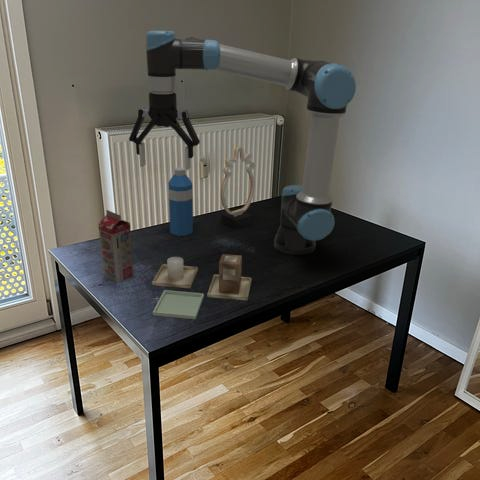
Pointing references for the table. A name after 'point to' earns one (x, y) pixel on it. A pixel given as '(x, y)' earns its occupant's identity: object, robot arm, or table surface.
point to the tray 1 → (186, 282)
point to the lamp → (239, 216)
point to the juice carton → (116, 247)
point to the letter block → (230, 273)
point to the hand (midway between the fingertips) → (165, 167)
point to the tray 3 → (242, 294)
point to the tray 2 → (178, 304)
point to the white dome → (175, 268)
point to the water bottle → (180, 203)
